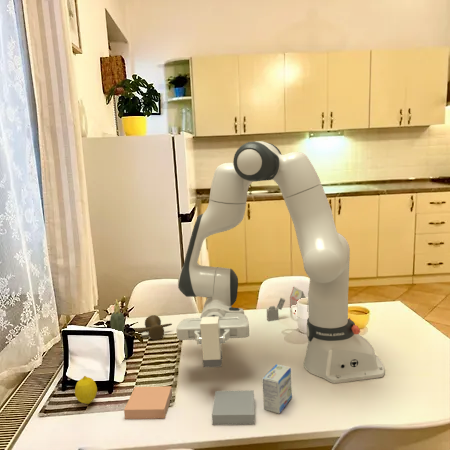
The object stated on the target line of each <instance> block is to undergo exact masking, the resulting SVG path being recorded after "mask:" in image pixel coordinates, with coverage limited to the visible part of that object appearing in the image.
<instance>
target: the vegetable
mask: <svg viewBox="0 0 450 450" xmlns="http://www.w3.org/2000/svg"><path fill="white" fill-rule="evenodd" d="M114 300H115V302H114V307H113V312H112V313H111V315H110V319H109V320H110V321H109V323H110V329H111V328H112V329H115V330H118V331H122V332H123V333H124V329H125V316H124V313H122V311H121V306H120V302H119V301H118V299H116V298H115V299H114ZM124 339H125V338H124ZM127 346H128V345H127V341H126V339H125V344H124V347H125V355H126V357H128V347H127Z"/></svg>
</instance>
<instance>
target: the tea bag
mask: <svg viewBox="0 0 450 450" xmlns="http://www.w3.org/2000/svg"><path fill="white" fill-rule="evenodd" d="M291 290H292V291H291V293H290V296H289V309H290V308H291V306H292V305H296V304H297V301H298V300H299V299H301V298H306V299H307V297H306V296H305V294H304V291H303V290H302V289H299V288H297V287H296V286H293V287H292V289H291ZM295 312H296V310H295Z"/></svg>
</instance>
